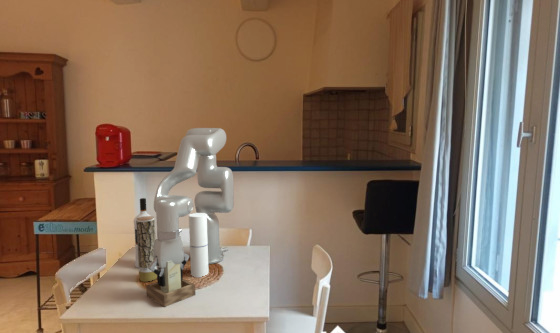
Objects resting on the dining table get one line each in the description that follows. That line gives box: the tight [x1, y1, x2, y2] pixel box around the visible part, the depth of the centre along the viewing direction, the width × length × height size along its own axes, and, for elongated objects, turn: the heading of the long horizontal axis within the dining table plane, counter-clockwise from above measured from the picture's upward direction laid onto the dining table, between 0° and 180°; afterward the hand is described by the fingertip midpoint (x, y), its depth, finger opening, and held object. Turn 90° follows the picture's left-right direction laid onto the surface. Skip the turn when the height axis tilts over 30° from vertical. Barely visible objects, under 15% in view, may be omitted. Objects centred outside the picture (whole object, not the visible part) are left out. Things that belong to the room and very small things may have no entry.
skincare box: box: [161, 261, 181, 293], centre depth 143 cm, size 6×4×12 cm
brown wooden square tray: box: [145, 278, 196, 308], centre depth 144 cm, size 12×12×4 cm
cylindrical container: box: [188, 212, 209, 278], centre depth 162 cm, size 7×7×25 cm
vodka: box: [133, 197, 152, 269], centre depth 173 cm, size 9×9×30 cm
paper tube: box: [136, 215, 158, 283], centre depth 158 cm, size 7×7×25 cm
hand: (170, 281), depth 144 cm, fingers closed on skincare box, 6 cm apart
